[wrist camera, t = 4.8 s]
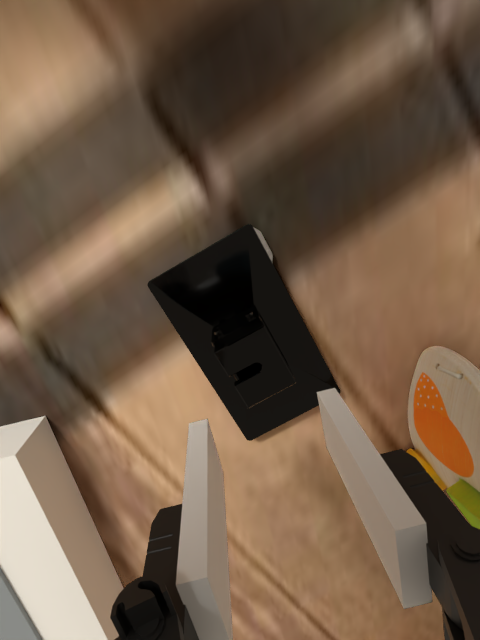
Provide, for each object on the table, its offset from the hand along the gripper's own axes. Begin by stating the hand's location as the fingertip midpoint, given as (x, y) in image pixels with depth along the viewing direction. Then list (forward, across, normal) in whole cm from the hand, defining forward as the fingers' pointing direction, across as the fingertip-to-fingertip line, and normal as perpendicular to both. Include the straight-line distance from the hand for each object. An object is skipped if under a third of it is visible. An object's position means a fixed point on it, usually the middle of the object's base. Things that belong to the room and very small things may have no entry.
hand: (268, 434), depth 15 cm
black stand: (+11, 0, 0) cm, 11 cm away
